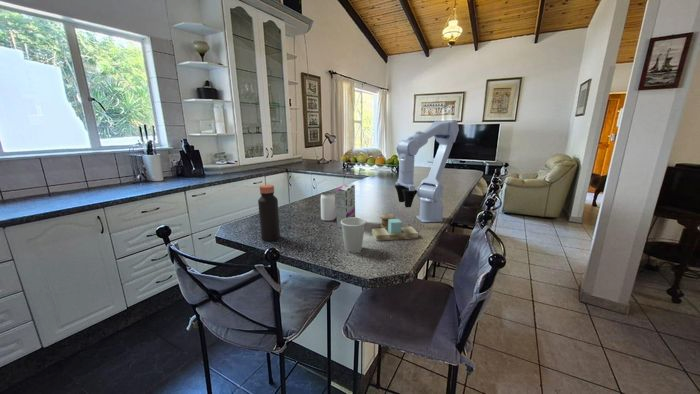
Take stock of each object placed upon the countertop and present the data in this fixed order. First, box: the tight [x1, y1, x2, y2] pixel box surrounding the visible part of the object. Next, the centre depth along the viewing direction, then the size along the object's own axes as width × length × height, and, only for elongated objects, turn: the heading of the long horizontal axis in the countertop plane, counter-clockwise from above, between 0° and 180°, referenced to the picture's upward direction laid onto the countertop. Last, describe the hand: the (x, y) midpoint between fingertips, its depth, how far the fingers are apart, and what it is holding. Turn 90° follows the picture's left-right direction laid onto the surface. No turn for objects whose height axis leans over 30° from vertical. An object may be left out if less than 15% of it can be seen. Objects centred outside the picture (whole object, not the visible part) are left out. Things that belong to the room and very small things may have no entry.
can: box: [320, 191, 336, 222], centre depth 123 cm, size 6×6×12 cm
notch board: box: [371, 226, 419, 241], centre depth 105 cm, size 16×7×2 cm, turn 99°
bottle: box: [257, 184, 281, 242], centre depth 100 cm, size 7×7×20 cm
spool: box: [379, 213, 396, 231], centre depth 113 cm, size 6×6×5 cm
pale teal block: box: [387, 218, 403, 234], centre depth 104 cm, size 4×4×6 cm
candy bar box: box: [335, 183, 356, 229], centre depth 116 cm, size 11×5×16 cm, turn 161°
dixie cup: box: [341, 216, 367, 253], centre depth 92 cm, size 8×8×10 cm
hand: (404, 204), depth 111 cm, fingers open, 7 cm apart
